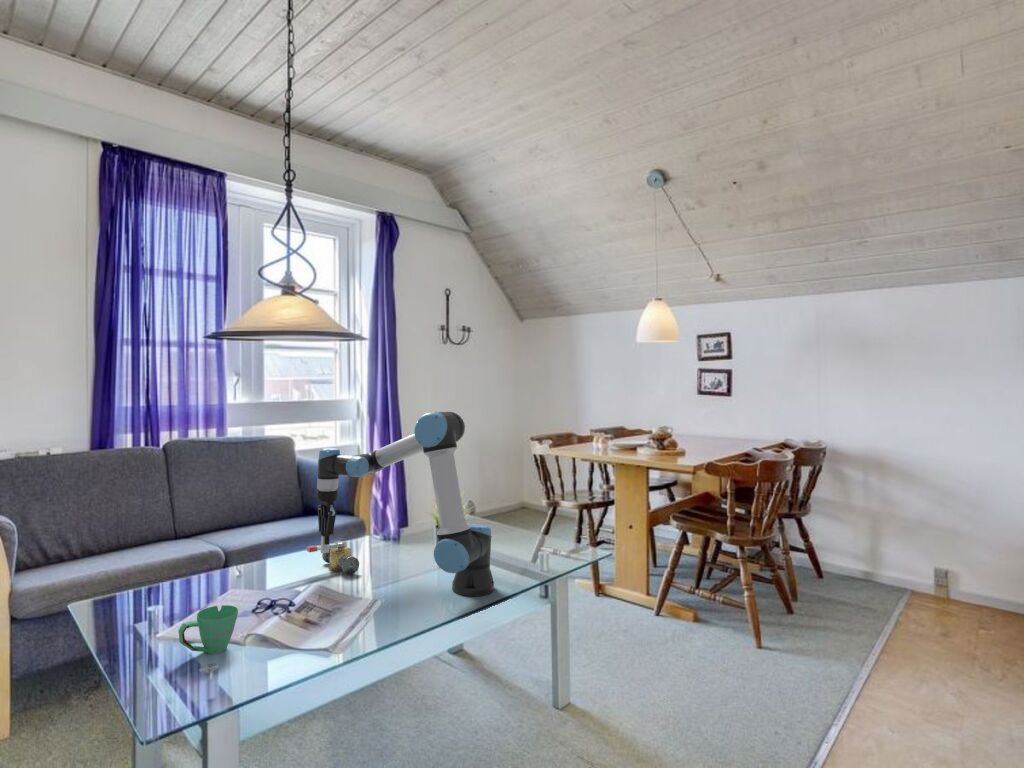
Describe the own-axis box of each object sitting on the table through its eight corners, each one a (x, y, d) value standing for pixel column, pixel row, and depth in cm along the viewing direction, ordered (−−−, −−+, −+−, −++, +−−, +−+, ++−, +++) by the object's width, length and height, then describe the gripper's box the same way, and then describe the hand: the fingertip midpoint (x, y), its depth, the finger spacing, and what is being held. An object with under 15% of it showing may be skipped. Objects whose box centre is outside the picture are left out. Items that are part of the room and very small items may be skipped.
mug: (224, 638, 160) (225, 602, 160) (243, 648, 154) (245, 611, 154) (168, 657, 148) (170, 618, 148) (187, 669, 142) (189, 628, 142)
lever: (343, 544, 228) (343, 540, 228) (348, 547, 225) (348, 542, 225) (305, 550, 218) (306, 545, 218) (310, 552, 215) (310, 548, 215)
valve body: (361, 573, 220) (361, 551, 220) (341, 577, 215) (342, 554, 215) (338, 561, 235) (339, 540, 235) (319, 564, 230) (320, 543, 230)
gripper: (344, 491, 214) (341, 555, 214) (330, 486, 224) (327, 547, 223) (325, 493, 209) (322, 558, 209) (311, 487, 219) (308, 550, 218)
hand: (324, 552), depth 216 cm, fingers closed
